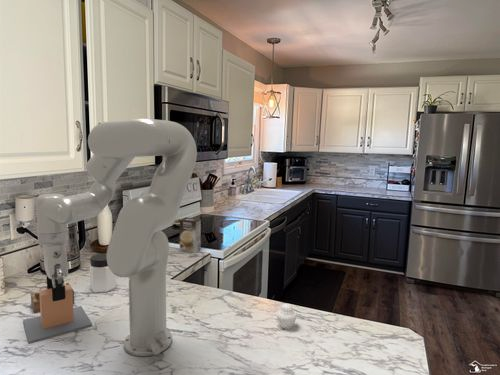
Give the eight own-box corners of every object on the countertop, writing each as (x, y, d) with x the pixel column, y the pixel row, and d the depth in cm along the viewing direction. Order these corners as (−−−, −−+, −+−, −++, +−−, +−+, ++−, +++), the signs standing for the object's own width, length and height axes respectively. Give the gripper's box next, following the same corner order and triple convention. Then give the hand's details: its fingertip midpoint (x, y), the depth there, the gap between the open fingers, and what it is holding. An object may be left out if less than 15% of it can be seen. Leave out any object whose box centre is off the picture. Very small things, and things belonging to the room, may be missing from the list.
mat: (92, 325, 104) (92, 324, 104) (28, 343, 94) (28, 341, 94) (81, 307, 115) (81, 305, 115) (23, 322, 105) (23, 320, 105)
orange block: (73, 321, 105) (72, 289, 104) (43, 329, 100) (41, 295, 99) (71, 315, 108) (69, 284, 107) (41, 323, 103) (39, 290, 102)
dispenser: (75, 304, 117) (74, 290, 116) (34, 313, 110) (33, 299, 109) (69, 295, 124) (69, 282, 123) (31, 303, 117) (30, 290, 116)
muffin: (279, 332, 103) (279, 309, 102) (273, 321, 109) (274, 300, 108) (299, 330, 104) (300, 308, 103) (292, 320, 110) (293, 298, 109)
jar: (118, 289, 129) (117, 257, 128) (95, 295, 124) (94, 262, 123) (110, 281, 136) (109, 251, 135) (88, 286, 131) (87, 255, 130)
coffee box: (178, 251, 176) (178, 219, 174) (184, 247, 182) (184, 217, 180) (195, 253, 173) (195, 221, 171) (201, 249, 179) (201, 218, 177)
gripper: (74, 242, 96) (76, 301, 99) (62, 228, 110) (64, 281, 112) (42, 246, 92) (45, 308, 94) (34, 232, 106) (37, 286, 108)
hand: (56, 293), depth 103 cm, fingers open, 9 cm apart
